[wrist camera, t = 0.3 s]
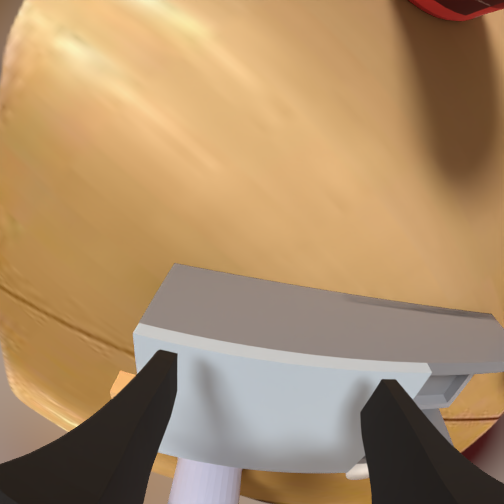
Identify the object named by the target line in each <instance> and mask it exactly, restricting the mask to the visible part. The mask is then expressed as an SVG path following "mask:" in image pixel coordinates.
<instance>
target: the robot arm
mask: <svg viewBox="0 0 504 504" xmlns="http://www.w3.org/2000/svg"><path fill="white" fill-rule="evenodd" d="M177 358H178V353H174V352H170V351H165V350H161V349H160V350H158V351H156V353H155V354H154V355H153V357H152V358H151V359H150V360H149V361H148V362H147V364H146V365H145V366H144V367H143V368H142V369H141V370H140V371H139V373H138V374H137V375H136V376H135V377H134V378H133V379H132V380H131V381H130V382H129V383H128V384H127V385H126V386H125V387H124V388H123V389H122V390H121V391H120V392H119V393H118V394H117V395H116V396H115V397H113V398H112V399H111V400H110V401H109V402H108V403H107V404H106V405H105V406H103V407H102V408H101V409H100V410H99V411H97V412H96V413H95V414H94V415H92V416H91V417H90V418H89V419H87V420H86V421H84V422H83V423H82V424H80V425H79V426H77V427H76V428H74V429H73V430H71V431H70V432H68V433H67V434H65V435H64V436H62V437H60V438H59V439H57V440H55V441H53V442H51V443H49V444H47V445H45V446H43V447H41V448H40V449H37V450H35V451H33V452H31V453H29V454H26V455H24V456H22V457H19V458H16V459H13V460H11V461H8V462H5V463H2V464H0V504H143V502H144V497H145V493H146V488H147V484H148V480H149V476H150V472H151V469H152V466H153V463H154V460H155V458H156V455H157V452H158V450H159V447H160V444H161V442H162V439H163V436H164V434H165V431H166V428H167V426H168V423H169V420H170V418H171V415H172V411H173V407H174V403H175V399H176V394H177ZM360 420H361V435H362V441H363V446H364V451H365V457H366V462H367V467H368V472H369V478H370V484H371V492H372V504H504V484H503V483H501V482H499V481H498V480H496V479H495V478H493V477H491V476H490V475H488V474H487V473H485V472H483V471H482V470H481V469H479V468H478V467H477V466H475V465H474V464H473V463H471V462H470V461H469V460H468V459H466V458H465V457H464V456H463V455H462V454H461V453H460V452H459V451H458V450H457V449H455V448H454V447H453V446H452V445H451V444H450V443H449V442H448V441H447V439H446V438H445V437H444V436H443V435H442V434H441V433H440V432H439V431H438V430H437V429H436V427H435V426H434V425H433V424H432V423H431V422H430V420H429V419H428V418H427V417H426V416H425V414H424V413H423V412H422V411H421V409H420V408H419V407H418V406H417V404H416V403H415V402H414V401H413V399H412V398H411V397H410V396H409V394H408V393H407V392H406V391H405V390H404V388H403V387H402V386H401V385H400V384H399V383H398V381H397V380H396V379H381V381H380V383H379V384H378V386H377V387H376V389H375V391H374V392H373V394H372V395H371V397H370V398H369V400H368V401H367V403H366V404H365V406H364V407H363V409H362V410H361V412H360ZM242 470H243V468H235V467H228V466H221V465H215V464H209V463H204V462H199V461H194V460H189V459H184V458H180V457H178V462H177V466H176V471H175V475H174V479H173V483H172V487H171V492H170V496H169V501H168V504H239V495H240V485H241V474H242Z"/></svg>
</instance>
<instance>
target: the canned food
mask: <svg viewBox="0 0 504 504" xmlns="http://www.w3.org/2000/svg"><path fill="white" fill-rule="evenodd" d="M409 1H410V2H411V3H413V4H414V5H415V6H417V7H418V8H419V9H421V10H423V11H425V12H426V13H428V14H430V15H433V16H435V17H437V18H441V19H445V20H453V21H465V20H470V19H473V18H476V17H479V16H482V15H485V14H488V13H491V12H494V11H497V10H501V9H504V0H409Z"/></svg>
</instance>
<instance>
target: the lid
mask: <svg viewBox="0 0 504 504" xmlns="http://www.w3.org/2000/svg"><path fill="white" fill-rule="evenodd" d="M133 339H134V350H135V359H136V367H137V374H138V373H139V371H140V370H141V369H142V368H143V367H144V366H145V365H146V364H147V362H148V361H149V360H150V359H151V358H152V357H153V355H154V354H155V353H156V351H158V350H160V349H161V350H165V351H170V352H174V353H178V358H177V394H176V399H175V403H174V407H173V411H172V415H171V418H170V420H169V423H168V426H167V428H166V431H165V434H164V436H163V439H162V442H161V444H160V447H159V450H158V452H159V453H163V454H167V455H171V456H175V457H180V458H184V459H189V460H194V461H199V462H204V463H209V464H215V465H221V466H228V467H235V468H243V469H252V470H261V471H273V472H290V473H348V472H349V471H350V470H351V469H352V468H353V467H354V466H355V465H356V464H357V463H358V462H359V461H360V460H361V459H362V458H363V457H364V456H365V451H364V446H363V441H362V435H361V420H360V412H361V410H362V409H363V407H364V406H365V404H366V403H367V401H368V400H369V398H370V397H371V395H372V394H373V392H374V391H375V389H376V387H377V386H378V384H379V383H380V381H381V379H396V380H397V381H398V383H399V384H400V385H401V386H402V387H403V388H404V390H405V391H406V392H407V393H408V394H409V396H410V397H411V398H412V399H414V397H415V396H416V395H417V393H418V392H419V391H420V389H421V388H422V386H423V385H424V384H425V382H426V381H427V379H428V378H429V377H430V375H431V374H432V372H431V370H430V368H429V366H428V364H427V363H415V362H392V361H376V360H362V359H350V358H339V357H329V356H320V355H311V354H303V353H295V352H287V351H280V350H273V349H267V348H260V347H254V346H248V345H242V344H236V343H230V342H225V341H220V340H214V339H209V338H204V337H199V336H194V335H189V334H185V333H180V332H176V331H171V330H167V329H162V328H158V327H154V326H150V325H146V324H142V323H139V324H138V325H137V327H136V329H135V331H134V332H133ZM135 376H136V375H134V374H130V373H127V372H123V371H120V372H119V374H118V376H117V378H116V380H115V382H114V384H113V386H112V388H111V390H110V394H111V398H113V397H115V396H116V395H117V394H118V393H119V392H120V391H121V390H122V389H123V388H124V387H125V386H126V385H127V384H128V383H129V382H130V381H131V380H132V379H133V378H134V377H135Z"/></svg>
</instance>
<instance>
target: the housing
mask: <svg viewBox="0 0 504 504" xmlns="http://www.w3.org/2000/svg"><path fill="white" fill-rule="evenodd" d="M139 323H142V324H146V325H150V326H154V327H158V328H162V329H167V330H171V331H176V332H180V333H185V334H189V335H194V336H199V337H204V338H209V339H214V340H220V341H225V342H230V343H236V344H242V345H248V346H254V347H260V348H267V349H273V350H280V351H287V352H295V353H303V354H311V355H320V356H329V357H339V358H350V359H362V360H376V361H392V362H415V363H427V364H428V366H429V368H430V370H431V372H432V374H431V375H430V377H429V378H428V379H427V381H426V382H425V384H424V385H423V386H422V388H421V389H420V391H419V392H418V393H417V395H416V396H415V397H414V399H413V401H414V402H415V403H416V404H417V406H418V407H419V408H420V409H421V411H422V412H423V413H424V414H425V416H426V417H427V418H428V419H429V420H430V422H431V423H432V424H433V425H434V426H435V427H436V429H437V430H438V431H439V432H440V433H441V434H442V435H443V436H444V437H445V438H446V439H447V441H448V442H449V443H450V444H451V445H452V446H453V443H452V441H451V438H450V436H449V433H448V430H447V428H446V425H445V423H444V420H443V418H442V415H441V413H440V411H439V408H446V407H449V406H450V405H451V403H452V402H453V401H454V400H455V399H456V397H457V396H458V395H459V394H460V392H461V391H462V390H463V388H464V387H465V386H466V385H467V383H468V382H469V381H470V379H471V378H472V376H473V375H474V374H483V373H496V372H504V329H503V327H502V326H501V325H500V324H499V322H498V321H497V320H496V319H495V318H494V316H493V315H492V314H487V313H479V312H471V311H463V310H456V309H448V308H441V307H433V306H426V305H419V304H412V303H405V302H398V301H391V300H385V299H378V298H371V297H365V296H358V295H352V294H346V293H339V292H333V291H327V290H321V289H315V288H309V287H303V286H297V285H291V284H285V283H279V282H274V281H268V280H262V279H257V278H251V277H245V276H240V275H234V274H229V273H223V272H218V271H213V270H207V269H202V268H197V267H192V266H186V265H181V264H176V263H174V265H173V267H172V268H171V270H170V271H169V273H168V275H167V276H166V278H165V280H164V281H163V283H162V285H161V286H160V288H159V289H158V291H157V293H156V295H155V296H154V298H153V300H152V301H151V303H150V305H149V306H148V308H147V310H146V311H145V313H144V315H143V317H142V318H141V320H140V322H139ZM453 447H454V446H453ZM365 463H367V462H366V457H365V456H364V457H363V458H362V459H361V460H360V461H359V462H358V463H357V464H365Z"/></svg>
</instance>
